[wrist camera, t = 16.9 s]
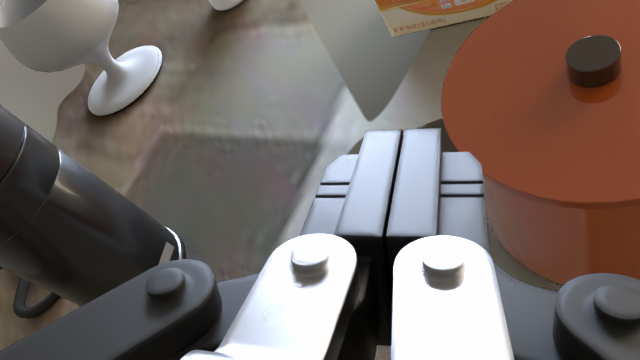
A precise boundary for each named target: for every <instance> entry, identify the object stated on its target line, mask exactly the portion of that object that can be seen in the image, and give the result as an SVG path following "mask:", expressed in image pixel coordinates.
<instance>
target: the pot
mask: <svg viewBox="0 0 640 360" xmlns="http://www.w3.org/2000/svg"><path fill="white" fill-rule="evenodd" d="M441 112H442V117H443V118H442V119H439V120H436V121H434V122H431V123H428V124H426V125H423V126H420V127H418V128H416V129H428V128H442V151H443V152H470V153H471V154H472V155H473V156H474V157H475V158H476V159H477V160H478V162H479V163H480V164H481V165H482V174H483V185H484V198H485V208H486V217H487V220H488V222H489V224H490V227H491V229H492V231H493V233H494V234H495V236H496V237H497V239H498V241H499V242H500V243H501V245H502V246H503V247H504V248H505V249H506V250H507V252H508V253H509V254H510V255H512V256H513V257H514V258H515V259H516V260H517V261H518V262H519V263H521V264H522V265H524V266H525V267H527V268H528V269H529V270H531V271H532V272H534V273H536V274H538V275H540V276H542V277H544V278H546V279H548V280H550V281H553V282H556V283H558V284H561V285H564V284H566V283H567V282H569V281H570V280H572V279H574V278H576V277H579V276H583V275H587V274H594V273H610V274H619V275H624V276H629V277H632V278H635V279H639V280H640V0H513V1H511V2H510V3H508V4H507V5H505V6H504V7H502V8H501V9H499V10H498V11H496V12H495V13H494V14H492V15H491V16H490V17H489V18H487V19H486V20H485V21H484V22H483V23H481V24H480V25H479V26H478V27H477V28H476V29H475V30H474V31H473V32H472V33H471V34H470V36H469V37H468V38H467V39H466V41H465V42H464V43H463V44H462V45H461V47H460V48H459V50H458V52H457V53H456V55H455V56H454V58H453V60H452V62H451V64H450V66H449V68H448V70H447V73H446V76H445V80H444V83H443V88H442V95H441Z"/></svg>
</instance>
